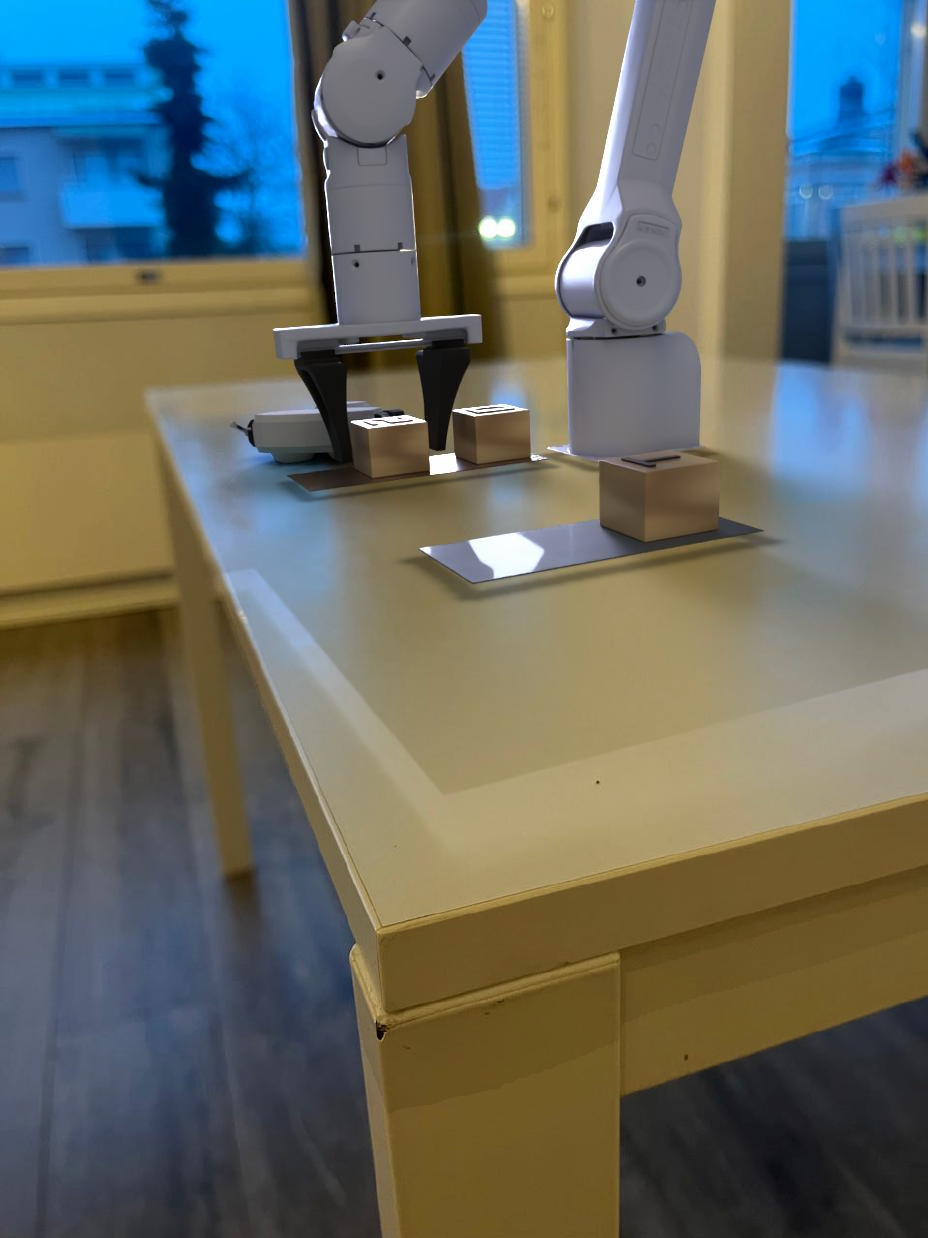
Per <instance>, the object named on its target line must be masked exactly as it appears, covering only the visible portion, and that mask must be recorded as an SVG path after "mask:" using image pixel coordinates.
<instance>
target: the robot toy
mask: <svg viewBox="0 0 928 1238" xmlns="http://www.w3.org/2000/svg"><path fill="white" fill-rule="evenodd" d="M405 415H406V416H409V417H413V418H415V417H414V415H413V414H410V413H405V411H404V410H402V409H400V408H391V409H382V407H379V406H371V405H370V404H369V403H368V402H367V401H363V400H360V401H359V400H358V401H356V400H355V401H347V416H348V424H349V431H350V438H351V445H352V437H351V427H350V422H352V421H361V420H370V419H379V418H387V417H396V416H405ZM246 426H247V427H246V428H245V427H243V426H242V425H240V424H238V423H237V422H236V421H233V420H232V421H231V420H230V421H229V427H230V428H232V429H233V428H234V429H235V430H238V431H240V432H242V433H244V435H245V436H246V437H247V439H248V442H249V444H250V445H251V447H253V448H256V450H257V451H258V453H260V454H270V455H271V456H272V457H273V458H274V460H275V461H277V462H279V463H299V462H305V461H308V460H311V459H312V458H313V457H314V456H315V454H317V453H327V454H328V455H329V456H330V457H331V458H332V459H333V460H335V456H334V452H333V448H332V444H331V441H330V438H329V435H328V432H327V429H326V427H325V424H324V422H323V419H322V417H321V415H320V412H319V410H318V408H317V406H316V405H315V407H314V408H312V409H311V408H310V409H294V410H293V409H292V410H279V411H278V410H277V411H268V412H263V413H257V414H254V418H253V419H250V421H249V422H248V424H247V425H246ZM352 461H354V458H353V447H352Z"/></svg>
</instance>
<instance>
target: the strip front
mask: <svg viewBox="0 0 928 1238" xmlns="http://www.w3.org/2000/svg"><path fill="white" fill-rule="evenodd" d="M762 532H765V530H764V529H761V528H758V527H755V526H751V525H749V524H745V523H742V522H738V521H735V520H732V519H729V518H726V517H722V516H719V529H718V530H714V531H708V532H702V533H697V534H691V535H686V536H680V537H674V538H669V539H663V540H657V541H652V542H646V543H645V542H642V541H640V540H637V539H635V538H632V537H630V536H627V535H624V534H622V533H619V532H617V531H614V530H612V529H609V528H606V527H604V526H601V525H600V518H596V519H589V520H584V521H579V522H578V521H577V522H571V523H565V524H559V525H554V526H553V525H552V526H548V527H541V528H534V529H528V530H523V531H516V532H509V533H505V534H499V535H491V536H486V537H479V538H474V539H467V540H462V541H456V542H450V543H449V542H448V543H443V544H438V545H431V546H424V547H419V548H418V551H420V552H422V553H423V554H424V555H426V556H427V557H429V558H431V559H433V560H434V561H435V562H437V563H438V564H440V565H442V566H444V567H445V568H447V569H448V570H450V571H451V572H452V573H454V574H456V575H457V576H459V577H461V578H462V579H464V580H465V581H467V582H469V583H470V584H471V585H477V584H483V583H487V582H492V581H499V580H504V579H508V578H514V577H515V578H516V577H520V576H525V575H531V574H535V573H543V572H547V571H553V570H558V569H563V568H569V567H575V566H579V565H580V566H581V565H586V564H591V563H596V562H603V561H609V560H613V559H614V560H615V559H619V558H623V557H630V556H634V555H641V554H645V553H651V552H657V551H662V550H663V551H664V550H668V549H673V548H674V549H675V548H679V547H684V546H690V545H695V544H696V545H697V544H701V543H707V542H712V541H718V540H722V539H723V540H724V539H728V538H729V539H730V538H734V537H738V536H739V537H740V536H745V535H751V534H757V533H762Z"/></svg>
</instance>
